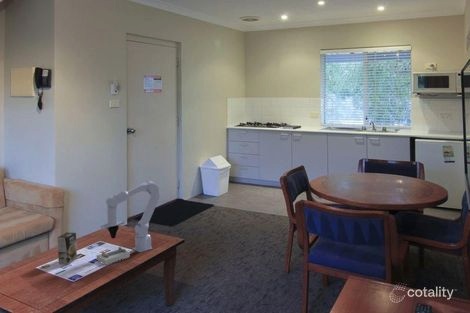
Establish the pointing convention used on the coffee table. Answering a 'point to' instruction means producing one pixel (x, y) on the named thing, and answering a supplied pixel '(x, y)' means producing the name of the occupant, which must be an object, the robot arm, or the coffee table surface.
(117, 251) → the strap
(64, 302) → the coffee table surface
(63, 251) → the coffee box
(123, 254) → the latch block
